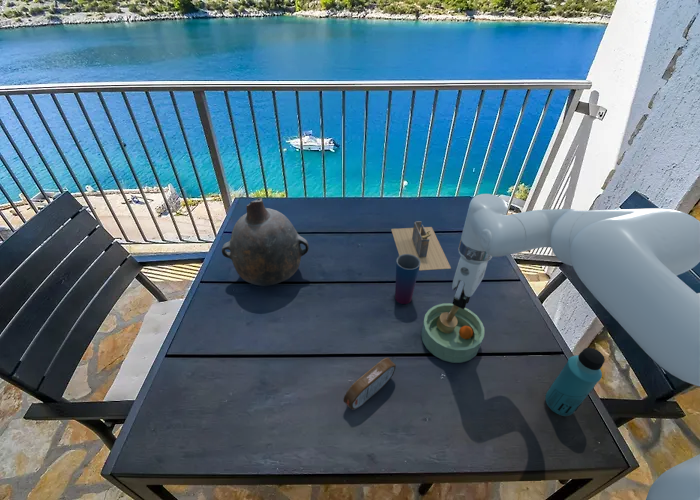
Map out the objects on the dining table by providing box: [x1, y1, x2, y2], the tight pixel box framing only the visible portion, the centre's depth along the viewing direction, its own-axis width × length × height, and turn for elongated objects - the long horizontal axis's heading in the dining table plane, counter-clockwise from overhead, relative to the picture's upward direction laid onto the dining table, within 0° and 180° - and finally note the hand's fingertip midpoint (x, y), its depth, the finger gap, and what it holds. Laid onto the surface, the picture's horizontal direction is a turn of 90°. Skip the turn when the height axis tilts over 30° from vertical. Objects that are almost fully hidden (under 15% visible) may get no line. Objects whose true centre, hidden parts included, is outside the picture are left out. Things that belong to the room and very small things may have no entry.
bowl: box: [420, 302, 485, 364], centre depth 94 cm, size 16×16×6 cm
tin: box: [343, 357, 397, 411], centre depth 81 cm, size 15×3×8 cm, turn 131°
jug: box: [221, 197, 310, 286], centre depth 107 cm, size 24×21×30 cm
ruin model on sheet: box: [390, 220, 452, 271], centre depth 125 cm, size 25×16×10 cm, turn 5°
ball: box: [459, 326, 473, 339], centre depth 95 cm, size 4×4×4 cm
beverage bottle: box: [545, 347, 606, 417], centre depth 75 cm, size 6×7×20 cm
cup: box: [394, 254, 420, 305], centre depth 104 cm, size 7×7×15 cm
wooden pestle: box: [437, 292, 464, 333], centre depth 92 cm, size 5×5×16 cm
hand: (460, 303), depth 90 cm, fingers closed on wooden pestle
